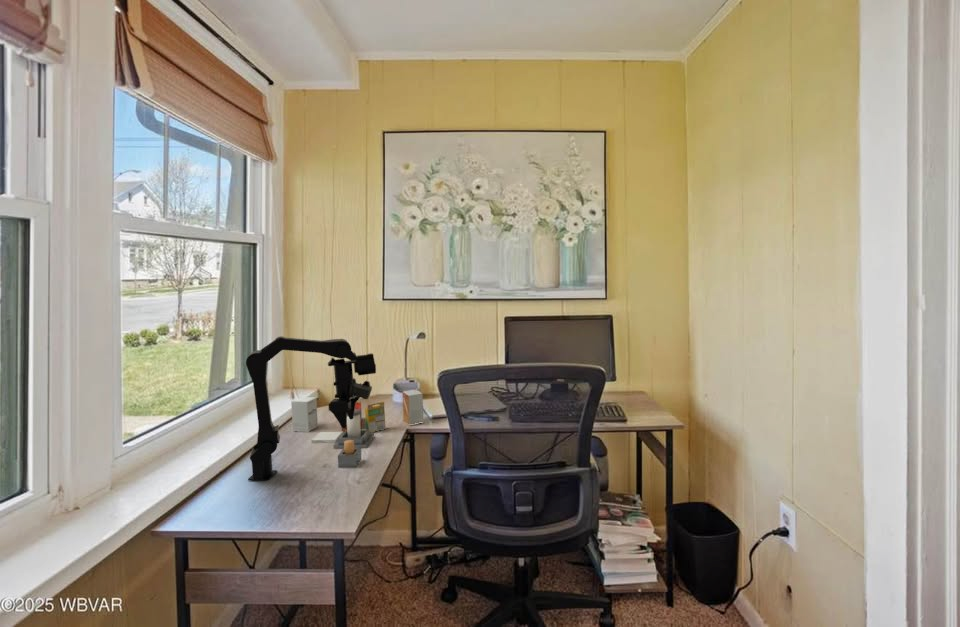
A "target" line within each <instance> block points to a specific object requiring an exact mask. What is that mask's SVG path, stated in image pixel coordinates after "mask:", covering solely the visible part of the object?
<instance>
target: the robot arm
mask: <svg viewBox="0 0 960 627" xmlns="http://www.w3.org/2000/svg"><path fill="white" fill-rule="evenodd" d="M282 351H291V352H292V351H294V352H304V353H305V352H306V353H318V354H324V355H326V356H330V357H331V359H330V360H329V361H328V362H327V366H328V367H333V370H334V382H333V386H334V387H335V394H334V399H333V398H332V400H331V401H330V402H329V403H328V411H329V412H330V413H332V414H333V415H334V417H335V418H336V420H337V421H338V423H339V426H340V427H341V429H342V428H346V424H347V414H348V416H349V418H350V419H353V417H354V411H355V405H356V402H358V401H359V399H360V398H362V399H363V400H368V399H369V397H370V396H371V392H372V390H373V386H371V383H370V381H368V380H365V381H364V382H363V383H361V382H360V383H357V380H356V378H354V374H357V375H358V376H366V375H373V374H374V375H375V374H377V367H376V366H377V365H376V363H375V358H374V353H367V354H361V355H360V354H359V355H357V353H356V352H354V351H353V350H352V346H351V344H350V343H349V342H348V341H347V339H345V338H336V339H335V338H333V339H332V338H331V339H324V340H317V339H305V338H295V337H286V336H282V335H281V336H277V337H276V338H275V339H274V340H273V341H271V342H270V343H268V344H267V345H266V346H264V347H262V348H261V349H260V350H259V349H258V350H254V351H251V353H249V355H248V357H246V361H245V366H246V368H247V372H248V374H249V378H251V381H252V384H253V392H254V393H253V394H254V400H255V406H256V407H255V409H256V414H257V423H258V429H257V440H256V443H255V445H254V446H253V447H252V448H251V452H250V456H249V459H250V461H251V469H252V471H251V472H252V475H250V477H248V479H247V481H248V480H255V481H269V480H270V479H271V478H273V477H274V475H275V474H277V473H278V470H274V469H273V459H272V457H273V456H272V454H273V453H275V452H276V450H277V449H278V445H279V444H280V440H281V435H280V433H279V424H278V425H274V423H273V421H272V413H271V405H270V395H269V389H268V379H267V377H268V369H269V368H268V366H269V361H270V360H272V359H273V358H274V357H276V356H277V355H278V354H280V352H282ZM335 358H337V359H335ZM345 359H347V360H345ZM353 371H354V374H353Z"/></svg>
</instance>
